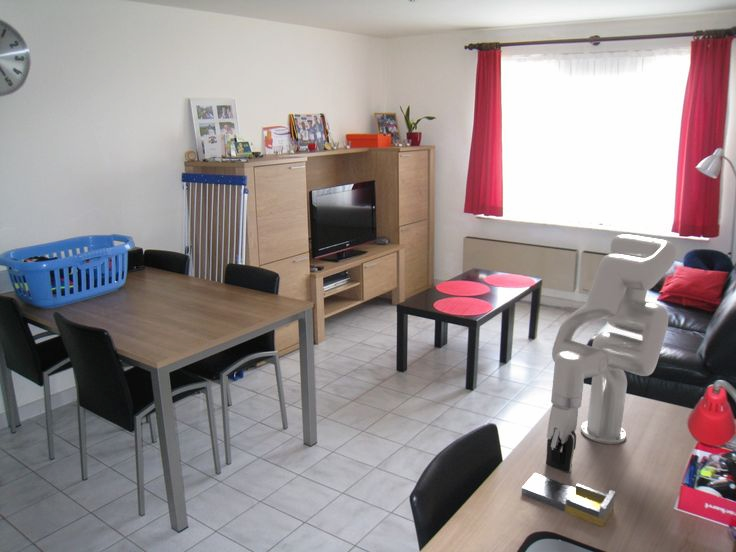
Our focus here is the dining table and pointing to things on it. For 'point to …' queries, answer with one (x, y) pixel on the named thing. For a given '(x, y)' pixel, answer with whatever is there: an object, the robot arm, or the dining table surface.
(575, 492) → the grey and yellow block
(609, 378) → the robot arm
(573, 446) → the battery charger
